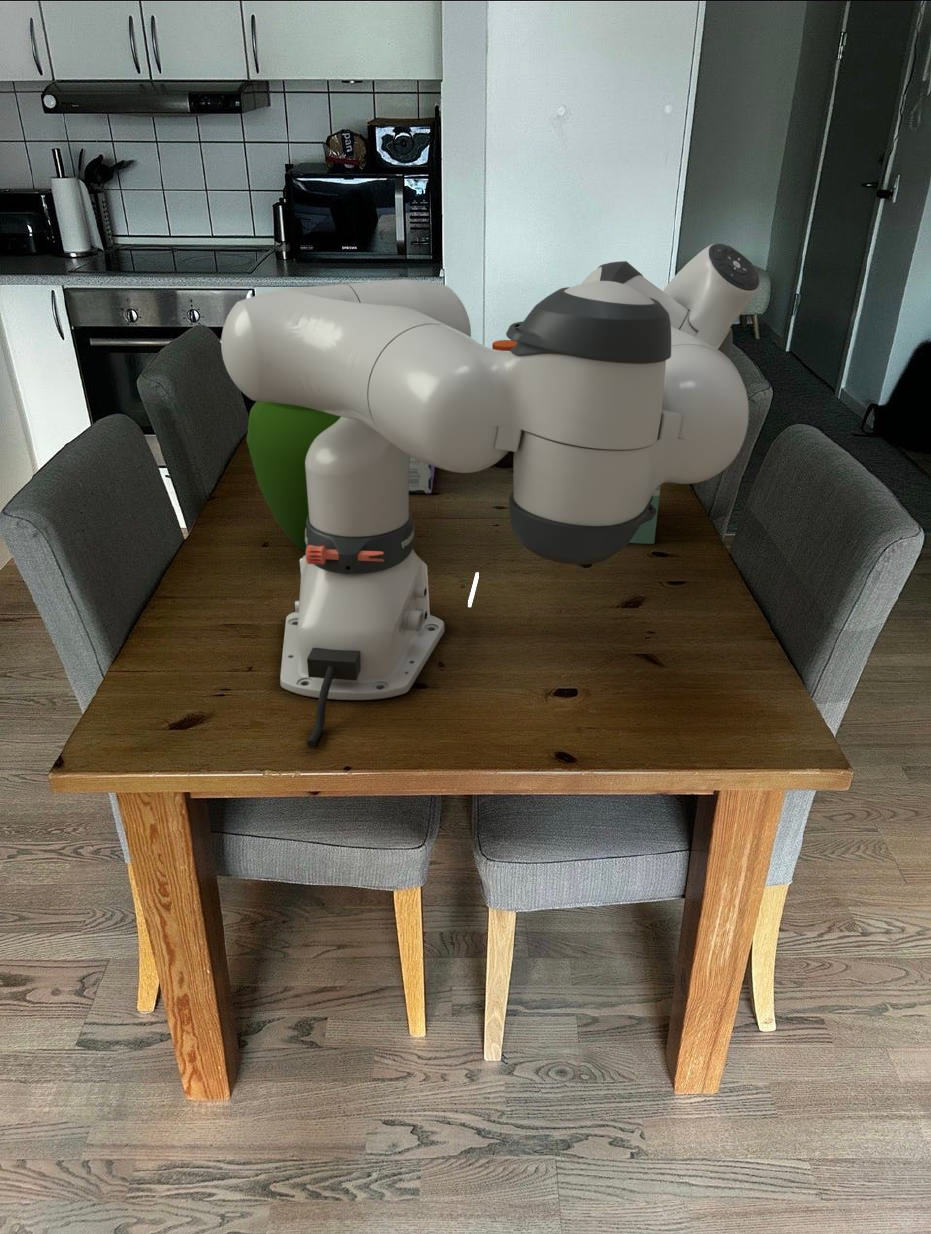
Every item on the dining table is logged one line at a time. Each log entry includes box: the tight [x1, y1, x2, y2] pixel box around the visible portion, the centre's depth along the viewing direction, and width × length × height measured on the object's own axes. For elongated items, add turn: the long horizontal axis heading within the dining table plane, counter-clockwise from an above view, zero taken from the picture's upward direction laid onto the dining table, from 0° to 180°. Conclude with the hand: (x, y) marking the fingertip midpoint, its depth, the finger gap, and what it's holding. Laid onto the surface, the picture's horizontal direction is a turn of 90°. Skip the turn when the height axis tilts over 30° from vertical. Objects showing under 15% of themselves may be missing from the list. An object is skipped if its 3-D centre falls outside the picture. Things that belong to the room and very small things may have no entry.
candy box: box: [409, 456, 436, 494], centre depth 152 cm, size 14×6×16 cm, turn 179°
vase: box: [246, 401, 341, 552], centre depth 127 cm, size 20×20×24 cm
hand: (609, 402), depth 132 cm, fingers open, 8 cm apart
